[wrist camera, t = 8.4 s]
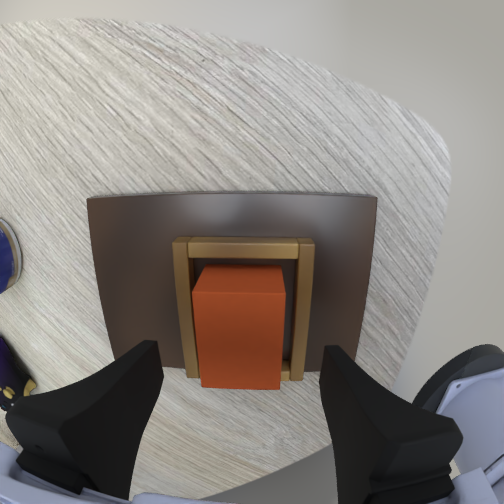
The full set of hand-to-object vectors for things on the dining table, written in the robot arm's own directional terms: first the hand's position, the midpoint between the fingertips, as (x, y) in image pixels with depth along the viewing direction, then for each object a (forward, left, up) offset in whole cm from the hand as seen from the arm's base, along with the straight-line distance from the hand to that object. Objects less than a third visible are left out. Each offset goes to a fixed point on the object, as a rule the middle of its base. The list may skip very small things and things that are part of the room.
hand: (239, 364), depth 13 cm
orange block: (0, 0, -5) cm, 5 cm away
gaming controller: (+24, +10, -6) cm, 27 cm away
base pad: (+1, -1, -6) cm, 6 cm away
